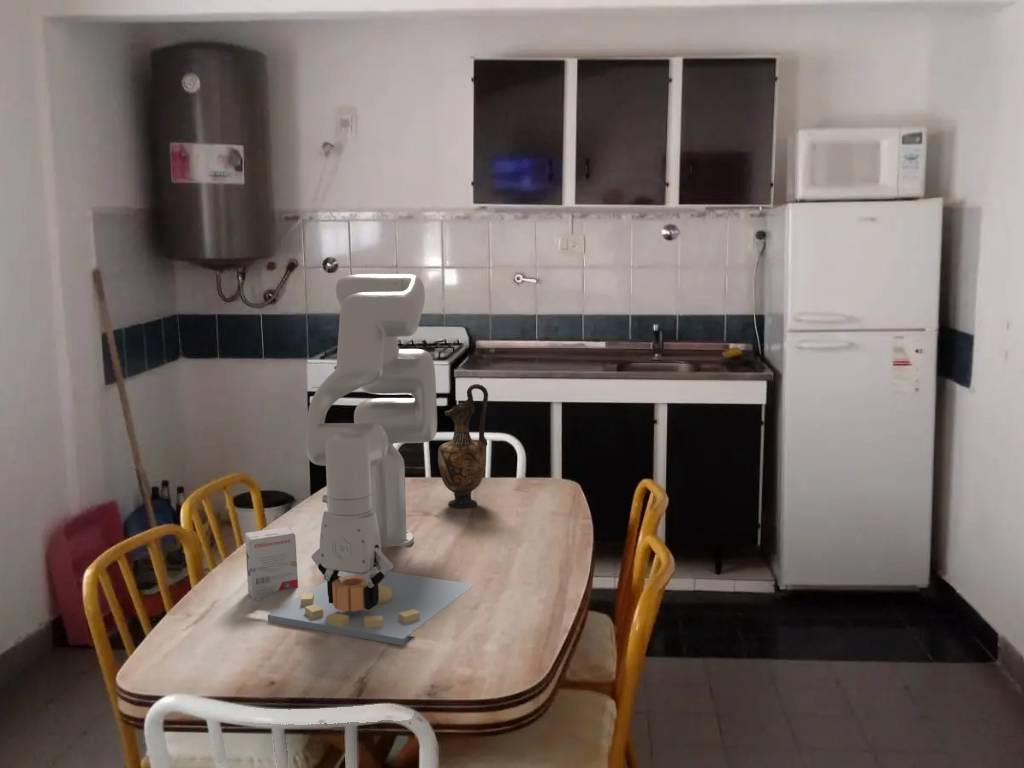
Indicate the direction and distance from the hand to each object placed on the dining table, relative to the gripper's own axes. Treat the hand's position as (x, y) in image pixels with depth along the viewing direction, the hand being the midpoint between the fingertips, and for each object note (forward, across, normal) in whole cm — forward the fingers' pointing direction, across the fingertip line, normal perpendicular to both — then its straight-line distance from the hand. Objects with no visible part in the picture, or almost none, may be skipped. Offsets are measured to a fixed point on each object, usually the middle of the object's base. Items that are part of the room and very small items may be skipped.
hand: (353, 602), depth 175 cm
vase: (+3, -14, +72) cm, 74 cm away
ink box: (+3, -21, +5) cm, 22 cm away
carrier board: (+3, 0, +7) cm, 8 cm away
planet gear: (0, 0, 0) cm, 0 cm away
